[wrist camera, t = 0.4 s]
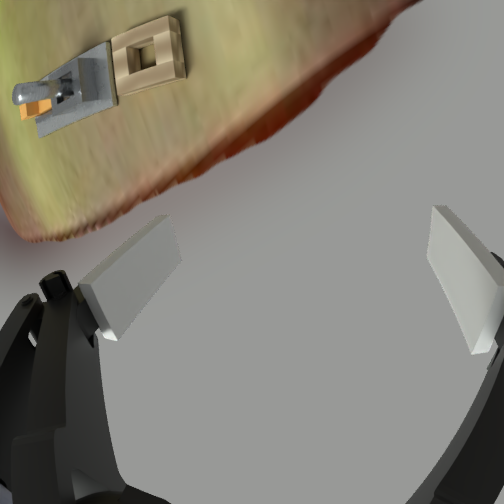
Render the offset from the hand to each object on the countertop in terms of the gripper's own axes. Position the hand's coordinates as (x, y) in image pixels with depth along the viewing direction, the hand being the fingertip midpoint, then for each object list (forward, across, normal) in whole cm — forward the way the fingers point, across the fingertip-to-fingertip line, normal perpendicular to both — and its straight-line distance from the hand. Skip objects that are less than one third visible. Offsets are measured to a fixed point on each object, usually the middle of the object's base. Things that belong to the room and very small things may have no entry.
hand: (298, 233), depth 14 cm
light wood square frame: (+27, -21, +18) cm, 39 cm away
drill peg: (+26, -36, +18) cm, 48 cm away
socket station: (+27, -39, +18) cm, 51 cm away
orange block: (+26, -45, +18) cm, 55 cm away
